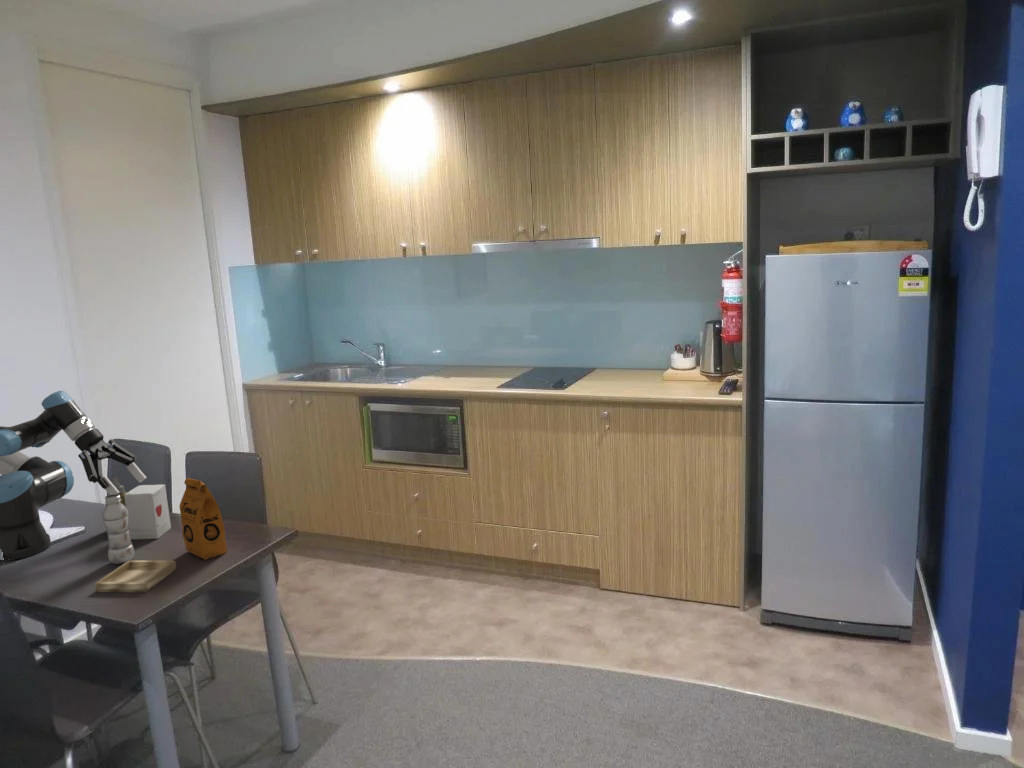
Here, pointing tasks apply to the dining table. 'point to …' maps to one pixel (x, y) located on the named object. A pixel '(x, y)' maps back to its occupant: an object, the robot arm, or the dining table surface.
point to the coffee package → (201, 521)
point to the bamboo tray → (136, 576)
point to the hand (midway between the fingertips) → (130, 487)
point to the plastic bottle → (117, 530)
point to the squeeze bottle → (120, 489)
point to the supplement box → (147, 511)
